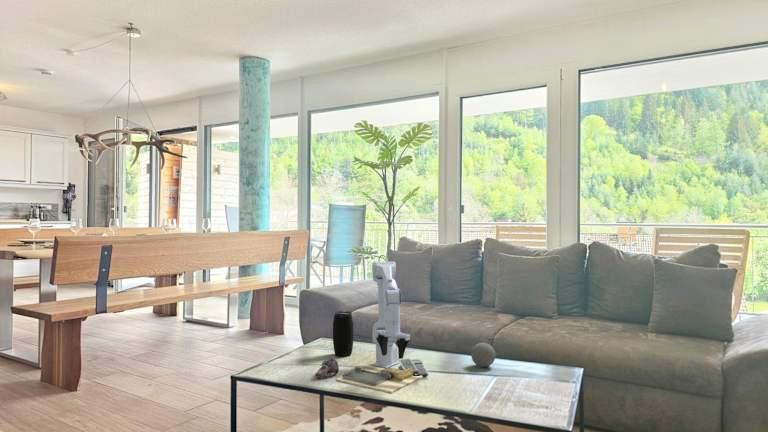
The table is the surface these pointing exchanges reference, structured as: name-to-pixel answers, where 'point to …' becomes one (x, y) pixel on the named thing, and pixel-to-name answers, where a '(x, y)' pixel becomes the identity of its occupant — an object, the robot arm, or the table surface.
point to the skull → (328, 368)
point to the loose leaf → (398, 373)
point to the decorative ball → (483, 354)
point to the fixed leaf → (367, 376)
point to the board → (386, 386)
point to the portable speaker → (343, 333)
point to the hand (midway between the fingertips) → (392, 356)
